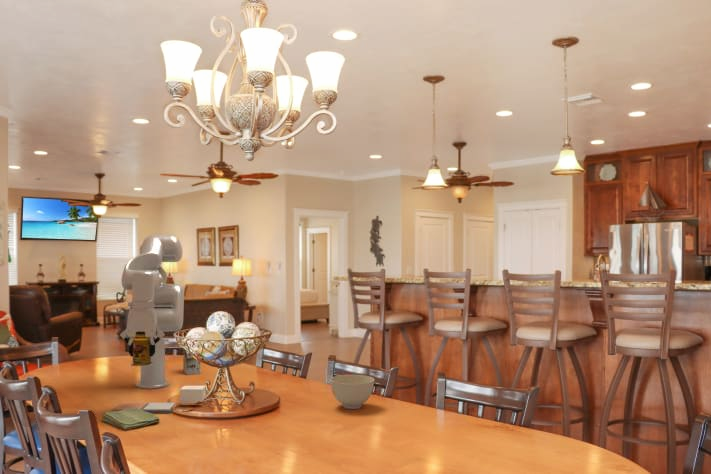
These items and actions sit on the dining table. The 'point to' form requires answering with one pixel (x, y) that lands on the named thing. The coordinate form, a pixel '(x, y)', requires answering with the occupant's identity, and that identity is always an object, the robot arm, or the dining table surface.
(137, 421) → the washcloth
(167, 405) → the board
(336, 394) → the bowl
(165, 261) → the robot arm
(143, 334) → the condiment
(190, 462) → the dining table surface
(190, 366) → the coffee box
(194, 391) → the white block
